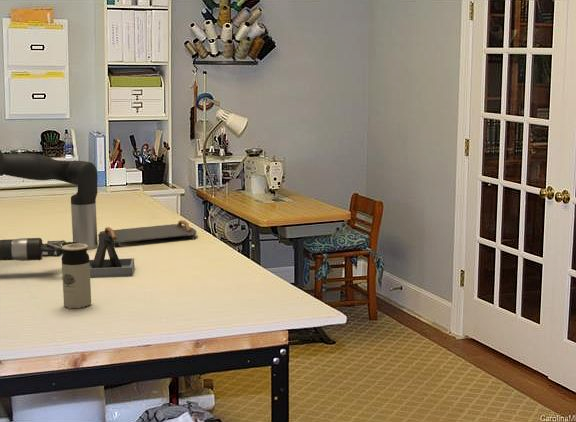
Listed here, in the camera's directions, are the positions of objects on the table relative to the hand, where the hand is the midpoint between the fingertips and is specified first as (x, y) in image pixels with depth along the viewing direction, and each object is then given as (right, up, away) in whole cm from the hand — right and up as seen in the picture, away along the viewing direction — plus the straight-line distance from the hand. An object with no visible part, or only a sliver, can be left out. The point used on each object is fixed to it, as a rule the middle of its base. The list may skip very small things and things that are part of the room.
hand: (76, 247), depth 313 cm
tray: (+10, -8, +3) cm, 14 cm away
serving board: (+15, +1, +58) cm, 60 cm away
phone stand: (+10, -8, +4) cm, 13 cm away
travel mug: (+9, -16, -37) cm, 41 cm away
